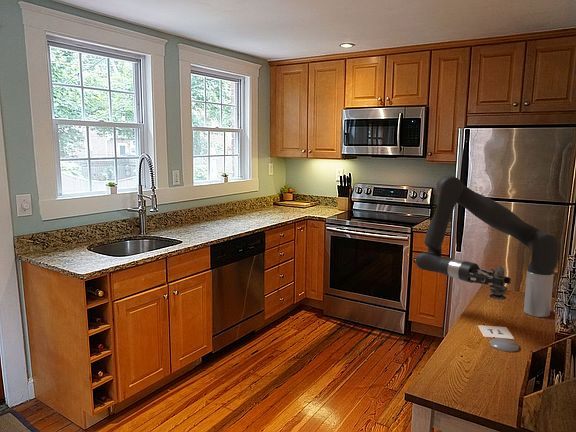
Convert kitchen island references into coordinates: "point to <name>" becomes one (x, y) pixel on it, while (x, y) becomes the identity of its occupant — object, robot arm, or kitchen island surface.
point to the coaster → (504, 344)
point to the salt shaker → (496, 289)
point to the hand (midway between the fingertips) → (506, 282)
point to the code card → (495, 332)
